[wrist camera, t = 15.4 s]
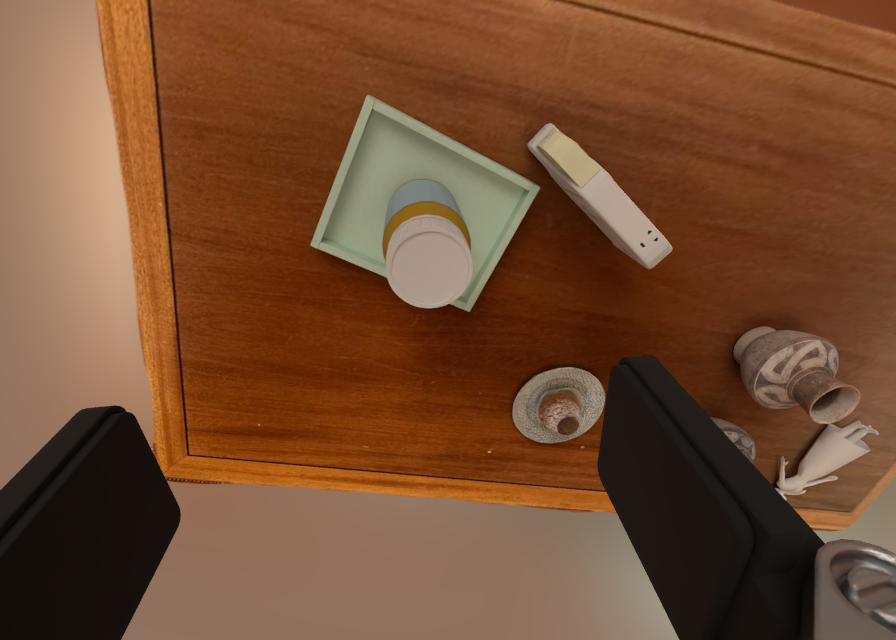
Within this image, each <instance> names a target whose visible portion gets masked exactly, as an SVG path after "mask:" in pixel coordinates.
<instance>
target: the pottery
mask: <svg viewBox="0 0 896 640" xmlns="http://www.w3.org/2000/svg"><path fill="white" fill-rule="evenodd" d="M733 354H734V358H735V360H736V361H737V362H738V363H739V364H740V371H741V378H742V380H743V382H744V385H745V386H746V388H747V390H748V392H749V394H750V395H751V397H752V398H753V399H754V401H755V402H756V403H758V404H759V405H761V406H763V407H766V408H770V409H783V408H790V407H794V406H797V405H801V407H802V408H803V409H804V410H805V411H806V412H807V414H808V415H809V417H810V418H811V419H812V420H813V421H814V422H816V423H819V424H830V423H834V422H837V421H839V420H841V419H843V418H845V417H846V416H848V415H849V414H850V413H851V412H852V411H853V410H854V409H855V408H856V407H857V405H858V403H859V401H860V397H861V396H860V392H859V390H858V389H857V388H855V387H854V386H851V385H849V384H847V383H844V382H842V381H840V380H838V379H836V378H834V377H835V375H836V372H837V369H838V364H839V354H838V351H837V349H836V347H835V345H834V344H833V343H832V342H830V341H829V340H827V339H825V338H822V337H819V336H816V335H812V334H809V333H804V332H799V331H792V330H779V331H776V330H775V329H773V328H771V327H766V326H765V327H757V328H754V329H752V330H750V331H748V332H747V333H745V334H744V335H742V337H741V338H740V339H739V340H738V341H737V342H736V344H735V346H734V350H733ZM710 418H711V419H712V420H713V421H714V422H715V423H716V424H717V426H718V427H719V428H720V429H721V430H722V431H723V432H724V433H725V434H726V435H727V437H728V438H729V439H730V440H731V441H732V442H733V443H734V444H735V445H736V446H737V447H738V449H739V450H740V451H741V452H742V453H743V454H744V455H745V456H746V457H747V458H748V460H749V461H750V462H751V463H753V461H754V458H755V454H756V445H755V442H754V440H753V439H752V438H751V437H750V436H749V435H748V434H747V433H746V432H745V431H744V430H742V429H741V428H739V427H738V426H736V425H734V424H732V423H730V422H727V421H725V420H722V419H718V418H712V417H710Z"/></svg>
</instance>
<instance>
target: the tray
mask: <svg viewBox="0 0 896 640" xmlns="http://www.w3.org/2000/svg"><path fill="white" fill-rule="evenodd" d="M414 179H430V180H433V181H437V182H439V183H440V184H442V185H443V186H445V187H446V188H447V189H448V190H449V191H450V192H451V194H452V195H453V196H454V198H455V200H456V202H457V204H458V207H459V209H460V212H461V214H462V216H463V219H464V221H465V223H466V226H467V229H468V232H469V234H470V239H471V254H472V258H473V274H472V278H471V280H470V283H469V285H468V287H467V288H466V290H465V291H464V292H463V294H462V295H461V296H460V297H458V298H457V299H456V300H454V301H453V302H451V303H449V304H451V305H454V306H456V307H458V308H461V309H463V310H465V311H468V312H470V310H471V308H472V307H473V305H474V303H475V301H476V300H477V298H478V296H479V294H480V293H481V291H482V289H483V287H484V286H485V284H486V282H487V280H488V279H489V277H490V275H491V273H492V272H493V270H494V268H495V266H496V265H497V263H498V261H499V259H500V258H501V256H502V254H503V252H504V251H505V249H506V247H507V245H508V244H509V242H510V240H511V238H512V237H513V235H514V233H515V231H516V230H517V228H518V226H519V224H520V223H521V221H522V219H523V217H524V216H525V214H526V212H527V210H528V209H529V207H530V205H531V203H532V202H533V200H534V198H535V196H536V195H537V193H538V191H539V189H540V187H539V186H538V185H537V184H536V183H534V182H532V181H530V180H529V179H527V178H525V177H523V176H521V175H519V174H517V173H515V172H514V171H512V170H510V169H508V168H506V167H504V166H502V165H500V164H499V163H497V162H495V161H493V160H491V159H489V158H487V157H485V156H483V155H482V154H480V153H478V152H476V151H474V150H472V149H470V148H468V147H467V146H465V145H463V144H461V143H459V142H457V141H455V140H453V139H452V138H450V137H448V136H446V135H444V134H442V133H440V132H438V131H436V130H435V129H433V128H431V127H429V126H427V125H425V124H423V123H421V122H420V121H418V120H416V119H414V118H412V117H410V116H408V115H406V114H405V113H403V112H401V111H399V110H397V109H395V108H393V107H391V106H389V105H388V104H386V103H384V102H382V101H380V100H378V99H376V98H374V97H373V96H371V95H367V96H366V99H365V101H364V104H363V107H362V109H361V112H360V115H359V117H358V120H357V123H356V125H355V128H354V131H353V133H352V136H351V138H350V141H349V144H348V146H347V149H346V152H345V154H344V157H343V160H342V162H341V165H340V168H339V170H338V173H337V176H336V178H335V181H334V183H333V186H332V189H331V191H330V194H329V197H328V199H327V202H326V205H325V207H324V210H323V213H322V215H321V218H320V221H319V223H318V226H317V228H316V231H315V234H314V236H313V239H312V242H311V244H310V246H312V247H315V248H317V249H320V250H322V251H324V252H327V253H329V254H332V255H334V256H336V257H339V258H341V259H344V260H346V261H348V262H351V263H353V264H355V265H358V266H360V267H363V268H365V269H367V270H370V271H372V272H375V273H377V274H379V275H382V276H384V277H387V274H386V269H385V265H386V264H385V263H386V261H385V259H384V256H383V247H382V239H383V232H384V225H385V218H386V211H387V207H388V203H389V200H390V198H391V197H392V195H393V193H394V192H395V191H396V190H397V189H398V188H399V187H400V186H401V185H403V184H404V183H406V182H409V181H411V180H414Z"/></svg>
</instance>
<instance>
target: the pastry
mask: <svg viewBox="0 0 896 640" xmlns="http://www.w3.org/2000/svg"><path fill="white" fill-rule="evenodd" d="M604 404H605V392H604V389H603V387H602V385H601V383H600V382H599V381H598V379H597V378H596V377H595V376H593V375H592V374H591V373H589V372H587V371H584V370H582V369H578V368H573V367H567V368H566V367H565V368H556V369H552V370H549V371H544V372H542V373H540V374H538V375H534V376H533V378H531V380H530V381H529V382H527V383H526V384H525V385H524V386H523V387H522V389H521V390H520V392H519V393H518V395H517V396H516V399H515V400H514V404H513V409H512V417H513V421H514V424H515V425H516V427H517V428H518V430H519V431H520V432H521V433H522V434H523V435H524V436H526V437H528V438H530V439H532V440H534V441H537V442H542V443H556V442H563V441H567V440H570V439H572V438H574V437H577V436H579V435H581V434H583V433H585V432H586V431H587V430H589V429H590V428H591V427H592V426H593V425H594V424H595V422H596V421H597V419H598V418H599V417H600V415H601V413H602V410H603V407H604Z"/></svg>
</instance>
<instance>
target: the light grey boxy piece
mask: <svg viewBox="0 0 896 640" xmlns="http://www.w3.org/2000/svg"><path fill="white" fill-rule="evenodd" d="M527 145H528V149H529V150H530V151H531V152H532V153H533V154H534V155H535V156H536V158H537V159H538V160H539V161H540V162H541V163H542V164H543V165H544V167H545V168H546V169H547V171H548V172H549V174H550V175H551V177H552V178H553V179H554V180H555V181H556V183H557V184H558V185H559V186H560V187H561V189H562V190H563V191H564V192H565V193H566V194H567V195H568V196H569V197H570V198H571V199H572V200H573V201H574V202H575V203H576V204H577V205H578V206H579V207H580V208H581V209H582V210H583V211H584V212H585V214H586V215H587V216H588V217H589V218H590V219H591V220H592V221H593V222H594V223H595V224H596V225H597V226H598V227H599V228H600V229H601V231H602V232H603V233H604V234H605V235H606V236H607V237H608V238H609V239H610V240H611V241H612V243H613V245H614V246H616V247H617V248H618V249H620V250H621V251H623V252H624V253H625V254H627V255H628V256H630V257H631V258H633V259H634V260H635V261H637V262H638V263H640V264H641V265H642V266H644V267H645V268H647V269H651V268H653V267H654V266H655V265H656V264H658V263H659V262H660V261H661V260H662V259H663V258H664V257H666V256H667V255H668V254H669V253H670V252H671V251H672V246H671V245H670V243H669V242H668V241H667V240H666V238H665V237H664V236H663V235H662V234H661V233H660V232H659V231H658V230H657V228H656V227H655V226H654V225H653V224H652V223H651V222H650V221H649V219H648V218H647V217H646V216H645V215H644V214H643V213H642V212H641V211H640V209H639V208H638V207H637V206H636V205H635V204H634V203H633V202H632V201H631V199H630V198H629V197H628V196H627V195H626V194H625V193H624V192H623V191H622V189H621V188H620V187H619V186H618V185H617V184H616V183H615V182H614V181H613V178H612V177H611V176H610V174H609V173H608V172H606V171H605V170H604V169H603V168H602V167H601V166H600V165H599V164H598V163H596V162H595V161H594V160H593V159H591V158H590V157H589V156H588V155H587V154H586V153H585V152H584V151H583V150H582V148H581V147H580V146H579V145H578V144H577V143H576V142H574V141H573V140H571V139H570V138H569V137H567V136H566V135H564V134H563V133H562V132H560V131H559V130H558V129H557V128H556V127H555V126H554V125H553V124H546V125H545V126H544V127H543V128H542V129H541V130H540V131H539V132H538V133H537V134H536V135H535V136H534V137H533V138H532V139H531V141H530V142H529V143H528V144H527Z"/></svg>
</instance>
